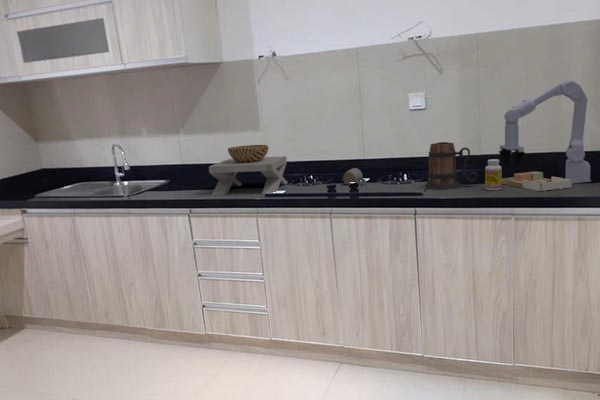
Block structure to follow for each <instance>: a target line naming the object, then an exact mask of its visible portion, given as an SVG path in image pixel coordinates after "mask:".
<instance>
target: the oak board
mask: <svg viewBox="0 0 600 400" xmlns="http://www.w3.org/2000/svg"><path fill="white" fill-rule="evenodd" d="M531 181H532V182H537V183H547V182H551V178H546V177H545V178H544V177H543V179H542V180H531ZM505 184H506V185H505ZM501 185H505V186H510V185H511V186H510V187H514V186H515V188H519V187H520V189H523V188H522V182H520V181H515V180H514V176H512V177H511V176H510V177H504V178H503V177H502V184H501Z"/></svg>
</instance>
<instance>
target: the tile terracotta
mask: <svg viewBox="0 0 600 400" xmlns="http://www.w3.org/2000/svg"><path fill="white" fill-rule="evenodd" d="M513 177H514V180H515V181H520V182H522V180H527V181H531V174H529V173H526V172H517V173H514V174H513Z"/></svg>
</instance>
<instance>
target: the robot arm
mask: <svg viewBox="0 0 600 400" xmlns="http://www.w3.org/2000/svg"><path fill="white" fill-rule="evenodd" d="M556 96H557V97H558V96H565V97H567V98H569V99H570V101H572V102H573V103H574V104H573V113H572V122H571V132H570V140H569V143H568V147H567V149H566V151H565V155H566V157H567V159H566V160H565V179H570V180H572V184H580V183H589V182H592V179H591V164H590V163H589V162H588V161H586V160H585V159H584V158H585V156H586V152H585V150H584V133H585V126H586V125H585V124H586V115H587V106H588V97H587V94H585V92H584V90H583V88H582V86H581V84H579V83H577V82H576V81H575V80H566V81H563V82H561V83H558V84H556V85H554V86H553V87H550V88H549V89H546V91H544V92H542V93H541V94H539V95H537V96H536V97H534V98H533V99H530V98H527V99H523V100H521V101H522V102H520V103H519V104H517V105H515V106H514V105H513V106H511V107H512V109H508V110H507V111H506V112H505V114H504V120H505V122H504V124H505V126H504V144H502V145H499V150H498V153H499V155H500V157H501V159H502V164H503V166H504V167H506V166H507V167H508V166H509V165H510V161H511V160H510V159H511V158H512V159H513V168H519V167H520V165H521V162H522V159H523V156H524V155H525V149H524V148H525V147H523V146H520V145H519V129H520V128H519V119H520V118H524V117H525V116H527V115H529V114H531V113H532V112H534V111H535V110H536V107H537V106H538V105H540V104H542V103H543V102H545V101H547V100H549V99H551V98H553V97H556ZM511 156H512V157H511Z"/></svg>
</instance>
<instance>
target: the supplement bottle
mask: <svg viewBox="0 0 600 400" xmlns="http://www.w3.org/2000/svg"><path fill="white" fill-rule="evenodd" d="M499 163H500V159H495V158H494V159H488V160H487V165H486V166H485V169H484V170H485V172H484V176H485V177H484V185H485V186H484V188H485V190H487V191H499V190H501V189H502V185H503V184H502V178H503V177H502V175H503V174H502V173H503V171H502V169H503V167H502V166H501V165H500V164H499Z"/></svg>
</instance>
